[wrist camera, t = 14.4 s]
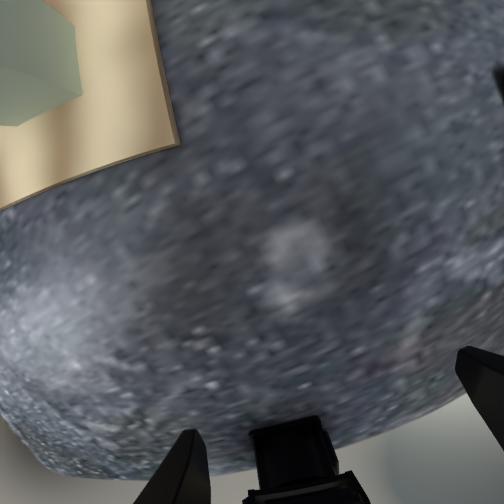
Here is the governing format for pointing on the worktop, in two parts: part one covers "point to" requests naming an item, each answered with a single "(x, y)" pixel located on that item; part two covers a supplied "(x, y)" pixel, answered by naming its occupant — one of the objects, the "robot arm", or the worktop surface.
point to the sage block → (35, 60)
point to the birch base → (95, 103)
